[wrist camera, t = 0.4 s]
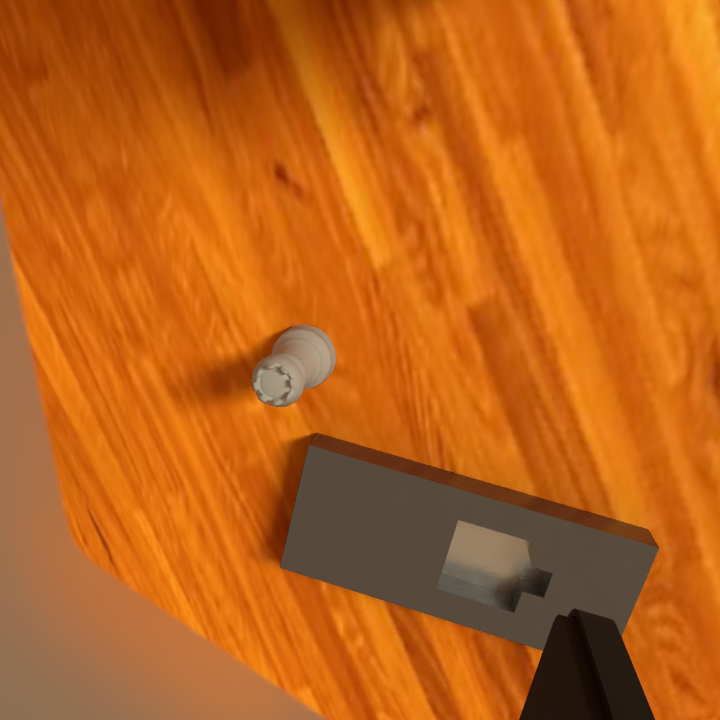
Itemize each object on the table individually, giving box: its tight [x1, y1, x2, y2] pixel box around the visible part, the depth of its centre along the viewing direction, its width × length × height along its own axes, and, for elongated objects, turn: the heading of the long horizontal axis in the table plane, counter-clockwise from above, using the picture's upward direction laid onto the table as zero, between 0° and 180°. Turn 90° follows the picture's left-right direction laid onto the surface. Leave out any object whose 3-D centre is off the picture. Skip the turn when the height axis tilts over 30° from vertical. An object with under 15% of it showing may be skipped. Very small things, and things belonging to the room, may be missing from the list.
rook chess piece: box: [251, 325, 336, 407], centre depth 39 cm, size 4×4×8 cm
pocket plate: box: [280, 433, 659, 650], centre depth 44 cm, size 10×24×2 cm, turn 76°
